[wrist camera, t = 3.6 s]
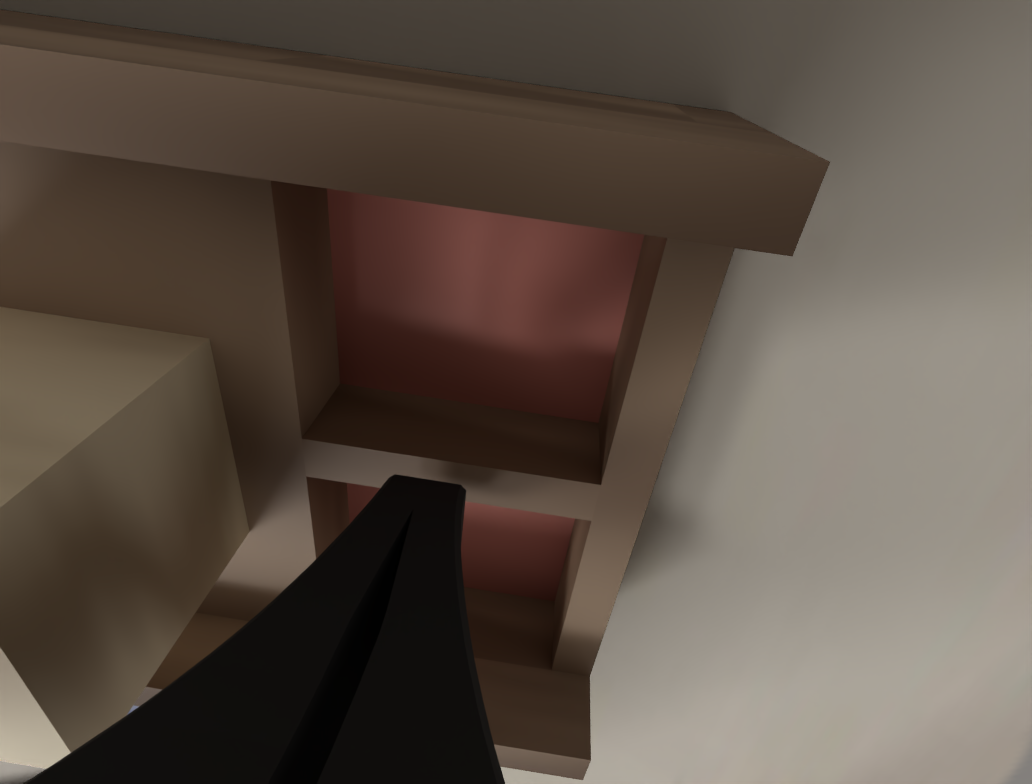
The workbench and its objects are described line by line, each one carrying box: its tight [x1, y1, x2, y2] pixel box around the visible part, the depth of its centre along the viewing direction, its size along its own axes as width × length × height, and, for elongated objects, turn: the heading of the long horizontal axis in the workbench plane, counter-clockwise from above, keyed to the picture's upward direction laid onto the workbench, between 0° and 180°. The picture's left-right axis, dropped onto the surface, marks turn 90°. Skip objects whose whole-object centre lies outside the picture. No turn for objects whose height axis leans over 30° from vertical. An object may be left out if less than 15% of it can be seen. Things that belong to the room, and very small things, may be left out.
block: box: [0, 307, 250, 769], centre depth 9 cm, size 5×5×5 cm
